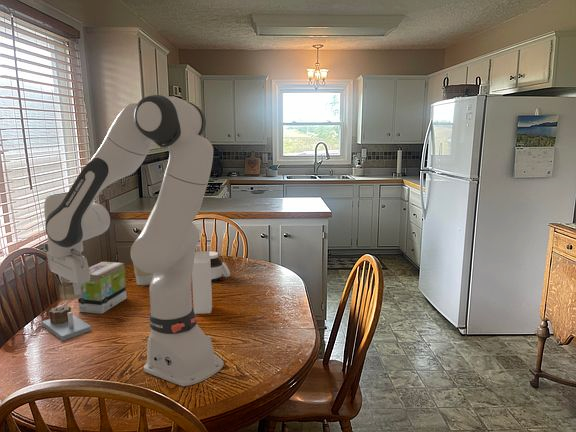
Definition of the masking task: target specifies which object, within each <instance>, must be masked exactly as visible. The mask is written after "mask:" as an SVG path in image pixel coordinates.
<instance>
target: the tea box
mask: <svg viewBox="0 0 576 432" xmlns="http://www.w3.org/2000/svg"><path fill="white" fill-rule="evenodd" d="M88 267H89V272H90V281H89V282H87V283H83V284H82V285H83V294H84V295H82V297H81V298H77V302H78V311H79V312H80V313H89V314H99V315H103V314H105V313H106V312H107V311H108V310H110V309H112V308H113V307H115V306H117V305H119V303H121V302H124V301H125V300H127V285H126V270H125V269H126V268H125V267H126V266H125V263H124V262H113V261H101V262H99V263H96V264H93V265H91V266H88Z"/></svg>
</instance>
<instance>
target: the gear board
mask: <svg viewBox="0 0 576 432" xmlns="http://www.w3.org/2000/svg"><path fill="white" fill-rule="evenodd" d="M62 306H63V305H62V304H61V305H57V306H56V307H57V309H58V311H61V310H62ZM67 314H68V321H67V322H65V323H63V324H54V323H51V322H50V318H49V319H45V320H42V321H41V324H42V327H44V328H45V329H46V330H47V331H49V332H50V333H52V334H53V335H55V336H56V337H57V338H58V339H60V340H61V341H66V340H70V339H71V338H74V337H77V336H80V335H82V334H85V333H88V332H91V331H92V325H90V324H88V323H87V322H85V321H84V320H82V319H81V318H79V317H77V316H76V315H74V314H73V312H72V311H71V312H68V313H67Z"/></svg>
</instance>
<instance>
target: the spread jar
mask: <svg viewBox="0 0 576 432" xmlns="http://www.w3.org/2000/svg"><path fill="white" fill-rule="evenodd" d="M209 256H210V263H211V283H212V282H214V283H215V282H218V281H219V280H220V279H221V278H222V277H223V276H224V277H225V278H229V277H231V272H230V269H229V267H228V266H227V264H226V263H225V262H223V261H222V260H221V258H220V257H219V252H217V251H209Z"/></svg>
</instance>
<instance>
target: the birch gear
mask: <svg viewBox="0 0 576 432" xmlns="http://www.w3.org/2000/svg"><path fill="white" fill-rule="evenodd" d="M60 283H61V282H60ZM73 287H74V285H73V282H72V281H70V280H68V282H65V283H64V282H63V283H61V284H59V285H58V292H59V299H60V300H62V301H74V300H76V299H78V298H81V297H82V295H84V294H83V285H82V286H81V294H79V295H74V294H73V291H72V289H73Z"/></svg>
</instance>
